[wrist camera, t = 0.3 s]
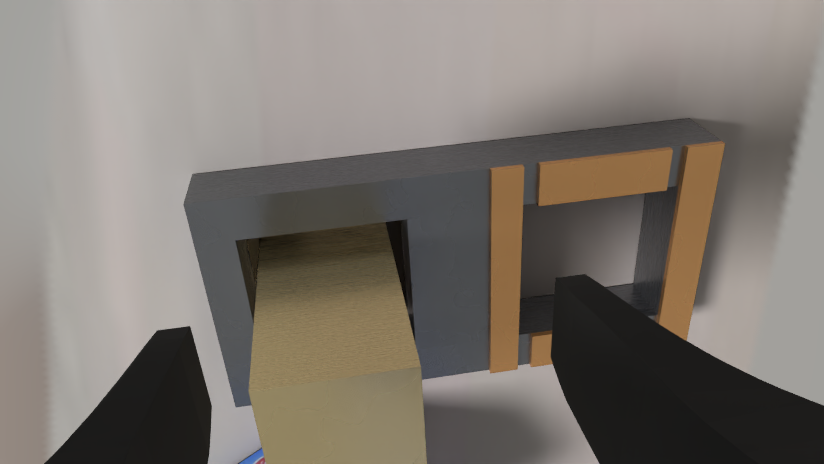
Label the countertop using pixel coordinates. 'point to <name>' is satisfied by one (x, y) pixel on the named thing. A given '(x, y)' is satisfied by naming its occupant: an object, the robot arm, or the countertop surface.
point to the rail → (466, 232)
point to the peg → (334, 352)
